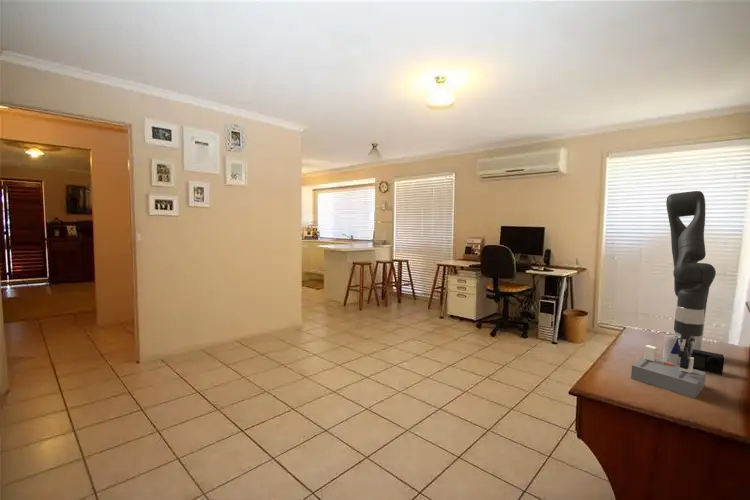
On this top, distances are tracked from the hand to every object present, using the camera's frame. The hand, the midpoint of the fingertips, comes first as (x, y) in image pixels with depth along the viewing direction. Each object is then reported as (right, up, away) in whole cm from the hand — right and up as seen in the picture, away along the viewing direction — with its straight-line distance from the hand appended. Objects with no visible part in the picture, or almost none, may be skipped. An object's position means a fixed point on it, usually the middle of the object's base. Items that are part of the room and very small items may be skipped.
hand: (684, 367), depth 124 cm
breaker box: (-2, -7, +5) cm, 9 cm away
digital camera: (+21, -6, +15) cm, 26 cm away
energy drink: (+12, -5, +20) cm, 24 cm away
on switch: (-3, -1, +12) cm, 12 cm away
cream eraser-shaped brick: (+3, -2, +2) cm, 4 cm away
